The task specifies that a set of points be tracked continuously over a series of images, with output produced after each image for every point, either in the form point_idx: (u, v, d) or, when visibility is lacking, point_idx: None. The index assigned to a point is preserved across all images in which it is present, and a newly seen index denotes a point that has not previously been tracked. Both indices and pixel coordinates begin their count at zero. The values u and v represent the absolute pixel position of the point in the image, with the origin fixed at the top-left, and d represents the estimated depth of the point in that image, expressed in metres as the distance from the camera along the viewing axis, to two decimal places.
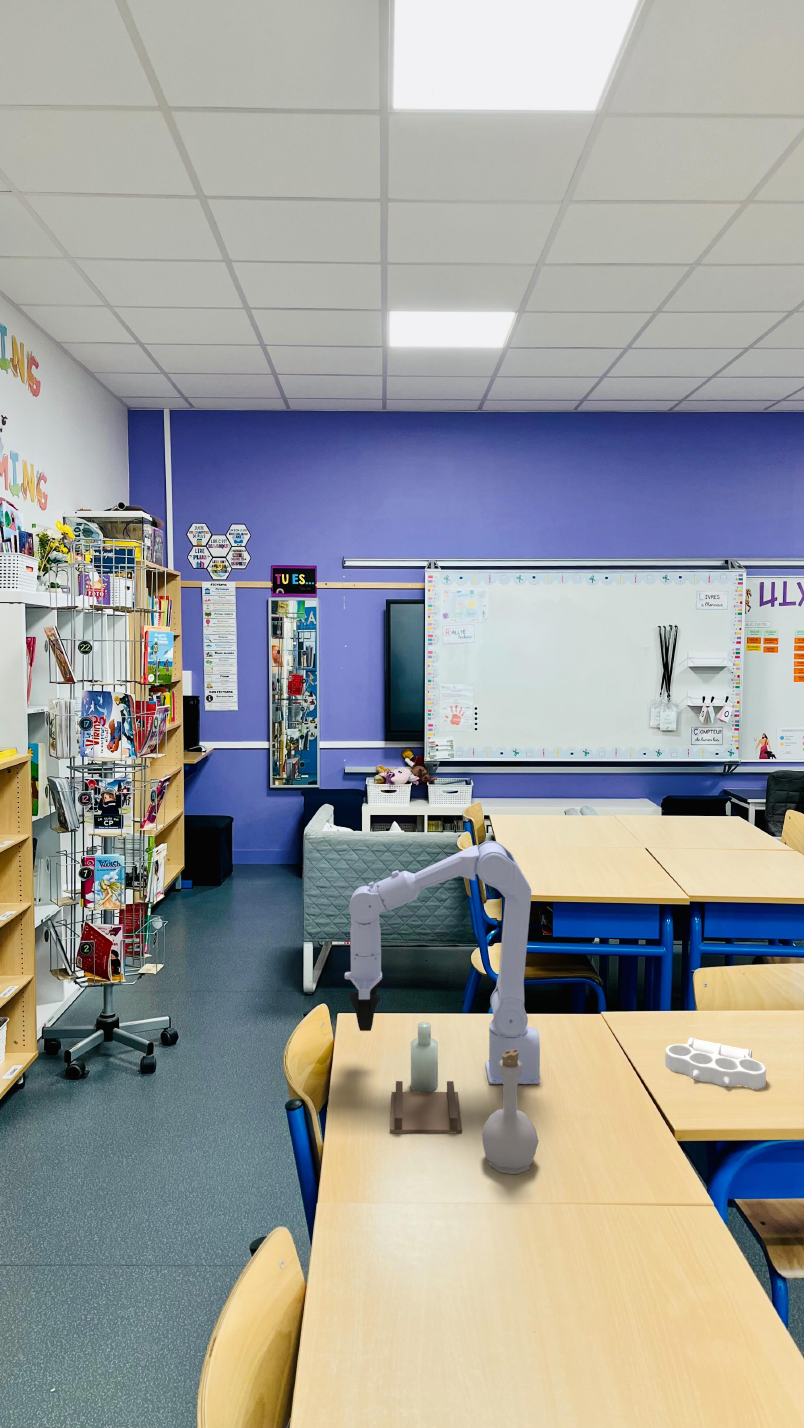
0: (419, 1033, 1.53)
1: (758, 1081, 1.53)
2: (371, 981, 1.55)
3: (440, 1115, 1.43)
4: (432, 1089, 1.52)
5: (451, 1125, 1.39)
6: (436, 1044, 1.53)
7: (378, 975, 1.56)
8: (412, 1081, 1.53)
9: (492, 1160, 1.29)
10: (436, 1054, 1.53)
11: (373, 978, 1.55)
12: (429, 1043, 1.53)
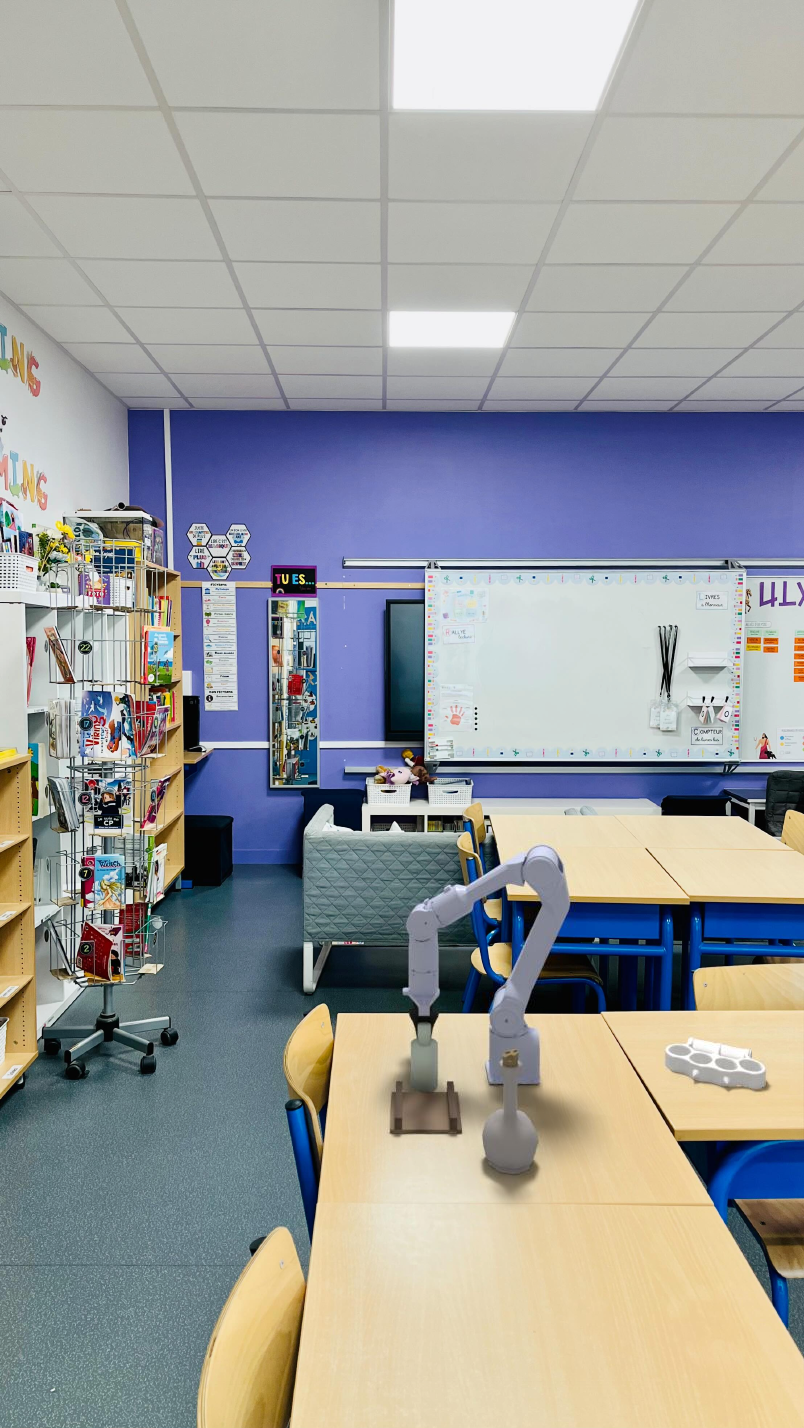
0: (419, 1033, 1.53)
1: (758, 1081, 1.53)
2: (429, 997, 1.58)
3: (440, 1115, 1.43)
4: (432, 1089, 1.52)
5: (451, 1125, 1.39)
6: (436, 1044, 1.53)
7: (436, 991, 1.59)
8: (412, 1081, 1.53)
9: (492, 1160, 1.29)
10: (436, 1054, 1.53)
11: (431, 994, 1.58)
12: (429, 1043, 1.53)
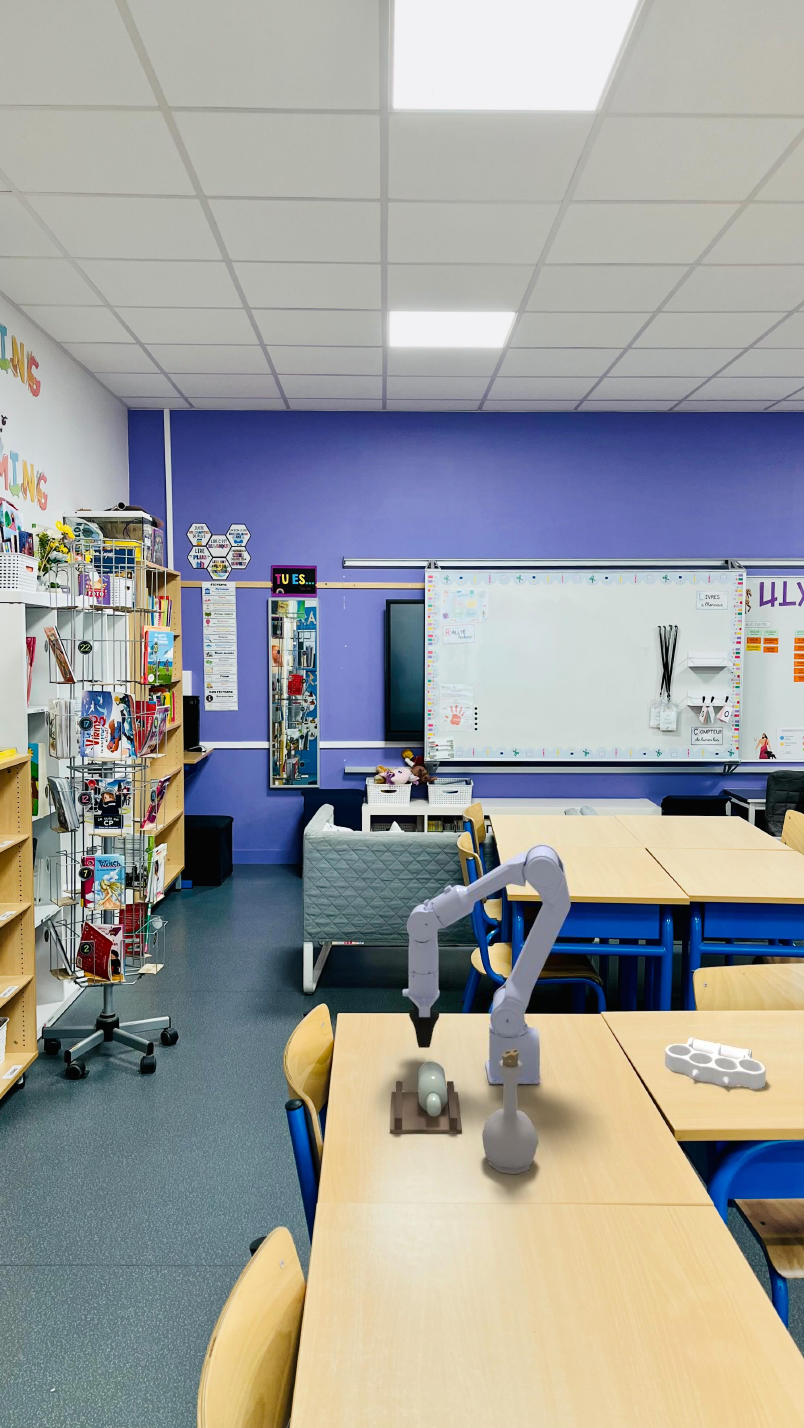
0: None
1: (758, 1081, 1.53)
2: (430, 998, 1.57)
3: (440, 1115, 1.43)
4: None
5: (451, 1125, 1.39)
6: (443, 1106, 1.44)
7: (436, 992, 1.58)
8: None
9: (492, 1160, 1.29)
10: None
11: (431, 995, 1.57)
12: None
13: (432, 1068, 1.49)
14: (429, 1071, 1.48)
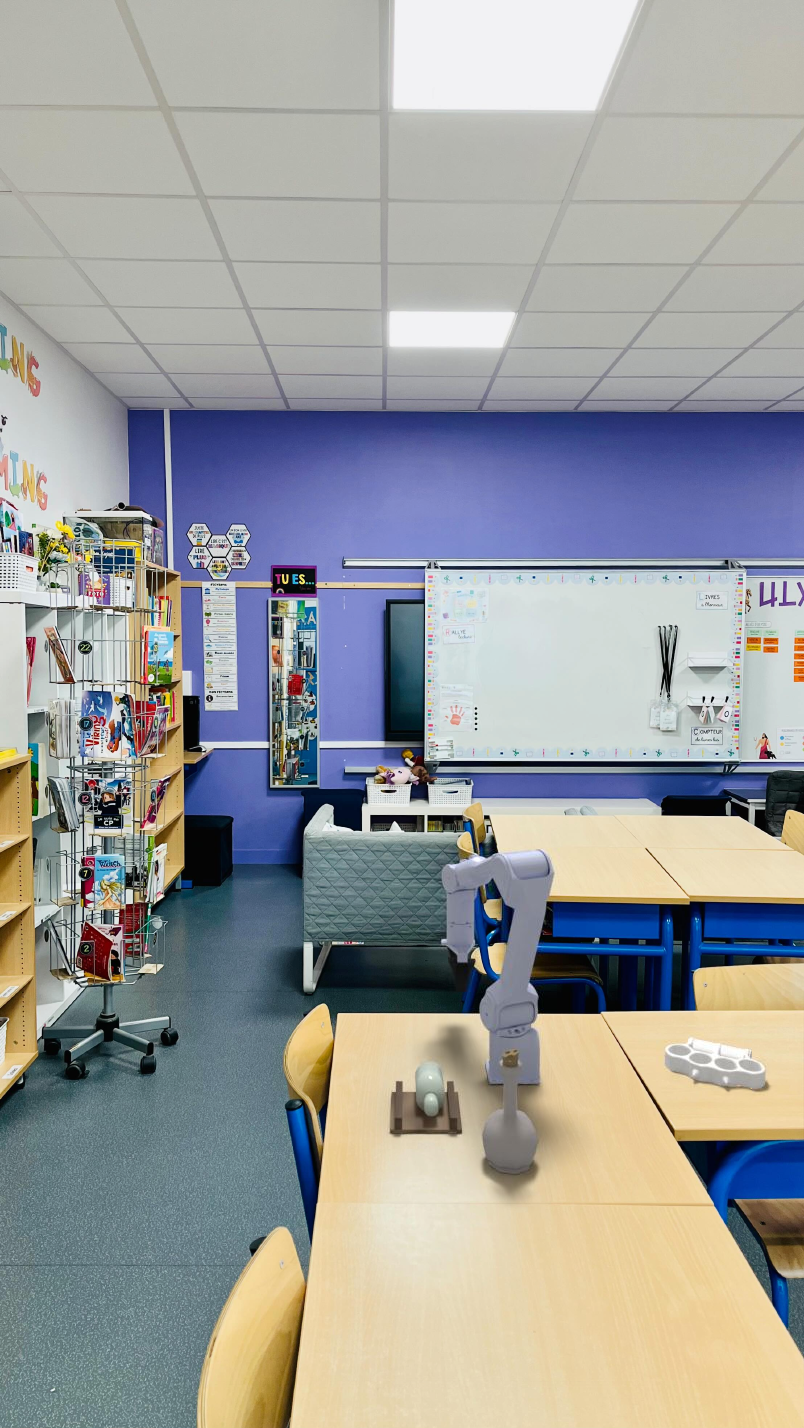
0: None
1: (757, 1081, 1.53)
2: (466, 947, 1.72)
3: (440, 1115, 1.43)
4: None
5: (451, 1125, 1.39)
6: (442, 1104, 1.44)
7: (472, 942, 1.73)
8: None
9: (492, 1160, 1.29)
10: None
11: (468, 944, 1.72)
12: None
13: (427, 1068, 1.49)
14: (424, 1072, 1.48)
